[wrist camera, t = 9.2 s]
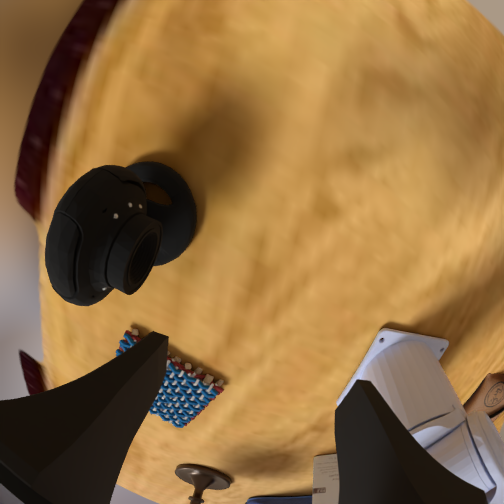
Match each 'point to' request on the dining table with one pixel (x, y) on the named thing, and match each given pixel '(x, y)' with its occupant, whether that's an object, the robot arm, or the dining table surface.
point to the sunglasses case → (488, 397)
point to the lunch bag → (280, 500)
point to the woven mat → (178, 388)
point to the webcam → (116, 231)
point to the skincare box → (325, 480)
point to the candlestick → (202, 480)
